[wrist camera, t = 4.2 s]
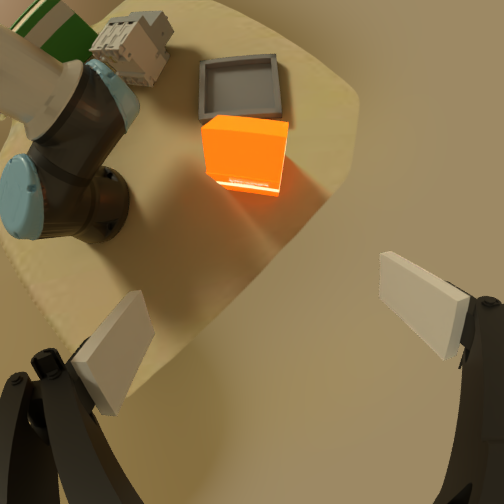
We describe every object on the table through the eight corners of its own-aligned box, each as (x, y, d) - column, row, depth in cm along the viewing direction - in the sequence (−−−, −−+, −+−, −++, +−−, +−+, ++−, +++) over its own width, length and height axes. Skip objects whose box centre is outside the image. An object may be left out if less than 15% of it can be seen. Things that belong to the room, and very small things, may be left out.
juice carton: (278, 197, 45) (282, 175, 25) (225, 190, 45) (191, 164, 26) (284, 152, 44) (292, 102, 24) (233, 146, 45) (206, 94, 25)
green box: (56, 92, 46) (-6, 60, 22) (49, 80, 46) (-7, 49, 22) (105, 42, 44) (53, -7, 20) (96, 33, 44) (48, -12, 20)
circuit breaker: (183, 35, 43) (160, -7, 28) (152, 87, 45) (118, 50, 30) (154, 34, 43) (128, -4, 28) (125, 83, 45) (87, 51, 30)
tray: (202, 124, 45) (198, 119, 42) (203, 67, 44) (199, 61, 41) (281, 118, 44) (281, 112, 41) (275, 60, 42) (275, 53, 40)
